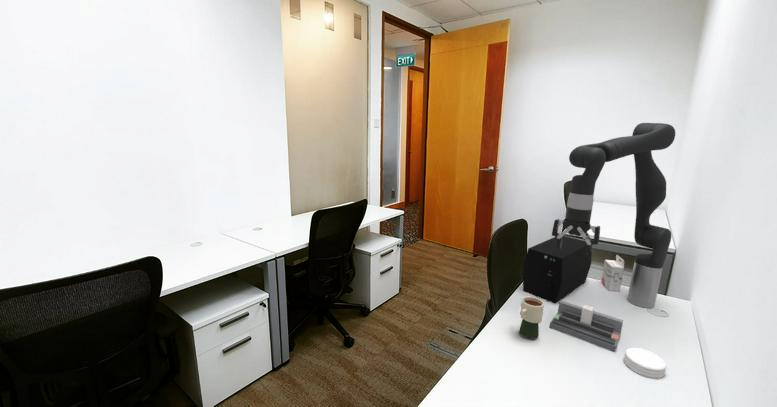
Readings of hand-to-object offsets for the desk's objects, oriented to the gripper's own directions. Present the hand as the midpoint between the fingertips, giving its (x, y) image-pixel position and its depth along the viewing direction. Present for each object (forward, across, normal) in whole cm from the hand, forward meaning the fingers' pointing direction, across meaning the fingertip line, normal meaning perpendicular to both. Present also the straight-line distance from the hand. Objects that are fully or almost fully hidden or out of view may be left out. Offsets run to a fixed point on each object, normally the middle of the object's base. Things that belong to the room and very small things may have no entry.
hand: (572, 251), depth 117 cm
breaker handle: (+26, -7, 0) cm, 27 cm away
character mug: (+29, +7, +16) cm, 33 cm away
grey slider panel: (+28, -8, 0) cm, 29 cm away
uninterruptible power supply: (+28, +10, -30) cm, 43 cm away
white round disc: (+29, -25, +8) cm, 39 cm away
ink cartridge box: (+28, -9, -48) cm, 57 cm away
